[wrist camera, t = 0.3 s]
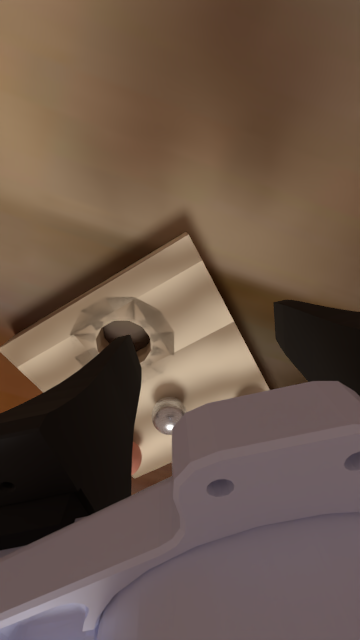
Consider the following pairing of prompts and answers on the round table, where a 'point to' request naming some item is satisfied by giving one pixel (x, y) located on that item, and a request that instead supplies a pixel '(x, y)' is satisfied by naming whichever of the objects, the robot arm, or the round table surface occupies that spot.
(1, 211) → the round table surface
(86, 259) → the round table surface
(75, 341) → the plate
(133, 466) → the brick-red wooden ball
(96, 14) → the round table surface
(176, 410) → the steel ball
